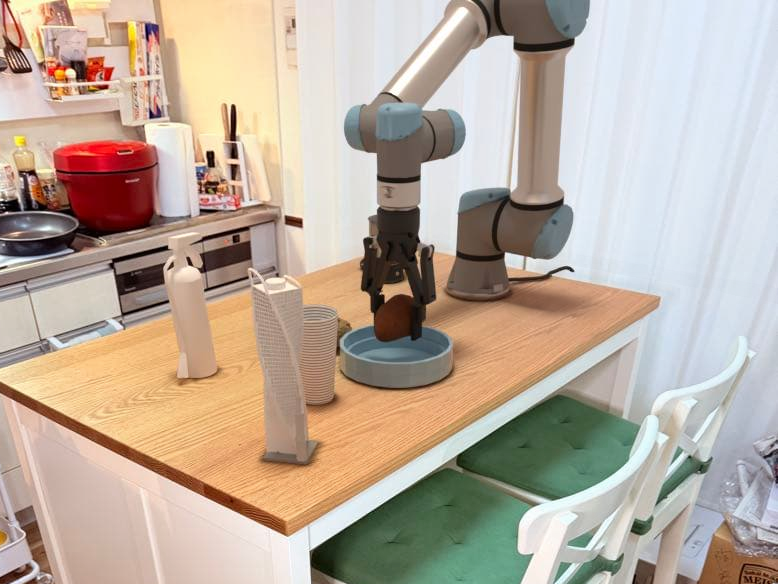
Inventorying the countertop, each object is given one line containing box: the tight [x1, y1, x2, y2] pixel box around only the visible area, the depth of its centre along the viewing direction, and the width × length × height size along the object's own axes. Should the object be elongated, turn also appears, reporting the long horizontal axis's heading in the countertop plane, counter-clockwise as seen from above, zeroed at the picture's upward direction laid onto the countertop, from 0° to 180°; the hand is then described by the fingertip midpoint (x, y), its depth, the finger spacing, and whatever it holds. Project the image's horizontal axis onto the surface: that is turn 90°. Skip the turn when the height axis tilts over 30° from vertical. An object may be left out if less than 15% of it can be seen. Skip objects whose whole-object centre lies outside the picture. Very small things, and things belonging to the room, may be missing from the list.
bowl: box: [339, 323, 455, 389], centre depth 148 cm, size 22×22×5 cm
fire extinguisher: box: [162, 231, 218, 379], centre depth 140 cm, size 7×12×25 cm, turn 153°
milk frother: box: [359, 214, 410, 284], centre depth 196 cm, size 14×16×15 cm
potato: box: [373, 293, 415, 342], centre depth 144 cm, size 8×12×8 cm, turn 140°
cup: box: [299, 304, 339, 405], centre depth 133 cm, size 8×8×16 cm
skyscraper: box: [247, 267, 319, 466], centre depth 114 cm, size 8×8×28 cm
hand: (397, 334), depth 146 cm, fingers closed on potato, 8 cm apart
